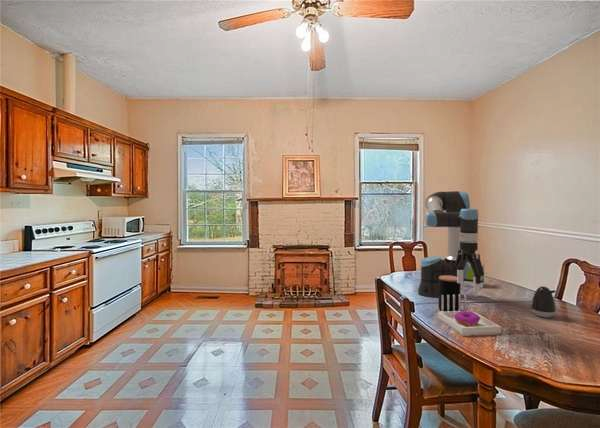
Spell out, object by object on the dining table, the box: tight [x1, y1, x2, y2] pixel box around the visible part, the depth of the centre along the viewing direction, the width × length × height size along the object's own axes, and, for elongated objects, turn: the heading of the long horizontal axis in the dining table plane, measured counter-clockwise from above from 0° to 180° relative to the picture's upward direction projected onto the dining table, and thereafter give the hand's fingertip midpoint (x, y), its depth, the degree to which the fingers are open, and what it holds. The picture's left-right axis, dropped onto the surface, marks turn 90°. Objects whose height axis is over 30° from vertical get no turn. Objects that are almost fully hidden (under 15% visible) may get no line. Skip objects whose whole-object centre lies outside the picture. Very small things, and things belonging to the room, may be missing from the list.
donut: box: [455, 310, 480, 326], centre depth 161 cm, size 10×10×5 cm
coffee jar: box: [438, 275, 461, 311], centre depth 183 cm, size 11×11×18 cm
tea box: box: [460, 263, 485, 289], centre depth 236 cm, size 15×10×15 cm, turn 58°
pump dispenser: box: [530, 286, 557, 319], centre depth 174 cm, size 10×10×15 cm
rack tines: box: [440, 293, 467, 312], centre depth 173 cm, size 2×16×12 cm, turn 95°
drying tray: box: [437, 310, 502, 337], centre depth 161 cm, size 22×18×4 cm
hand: (468, 286), depth 161 cm, fingers open, 13 cm apart
